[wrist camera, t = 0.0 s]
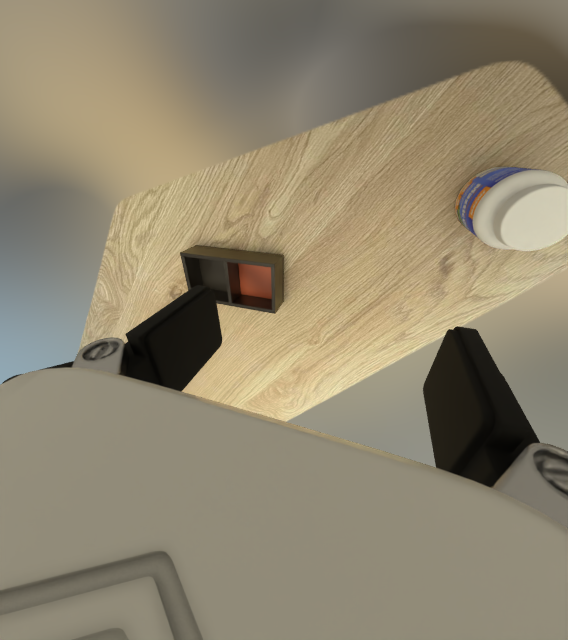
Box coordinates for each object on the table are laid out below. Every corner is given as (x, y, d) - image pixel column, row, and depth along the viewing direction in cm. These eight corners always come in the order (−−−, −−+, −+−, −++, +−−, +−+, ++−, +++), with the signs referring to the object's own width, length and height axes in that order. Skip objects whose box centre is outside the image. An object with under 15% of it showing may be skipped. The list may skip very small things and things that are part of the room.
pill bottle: (453, 178, 24) (488, 187, 16) (528, 156, 22) (610, 156, 14) (453, 235, 26) (483, 268, 18) (521, 221, 24) (588, 252, 16)
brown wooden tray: (195, 245, 37) (179, 252, 34) (283, 254, 33) (274, 264, 30) (203, 288, 41) (190, 298, 38) (283, 301, 37) (275, 313, 34)
